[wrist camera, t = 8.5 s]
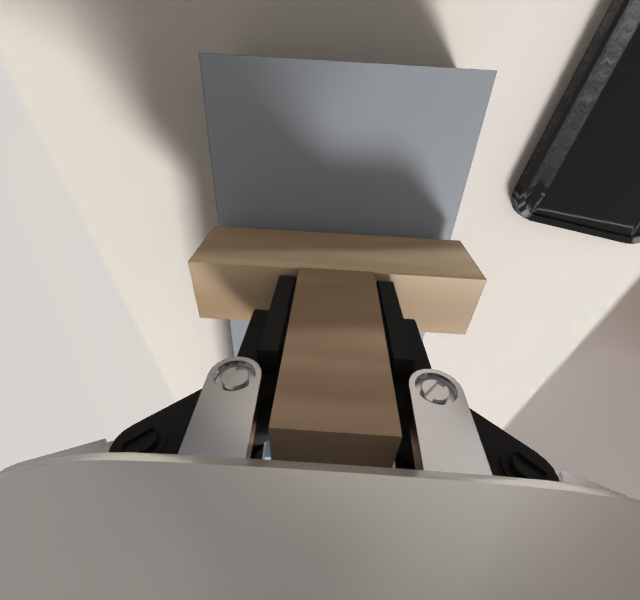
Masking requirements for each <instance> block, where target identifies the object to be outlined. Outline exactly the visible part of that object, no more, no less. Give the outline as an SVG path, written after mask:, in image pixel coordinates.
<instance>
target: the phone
mask: <svg viewBox="0 0 640 600" xmlns="http://www.w3.org/2000/svg"><path fill="white" fill-rule="evenodd" d="M512 206H513V209H514V210H515V211H516V212H517V213H518V214H519V215H521V216H522V217H524V218H526V219H528V220H530V221H534V222H539V223H543V224H547V225H551V226H555V227H560V228H564V229H568V230H572V231H577V232H581V233H585V234H589V235H593V236H598V237H602V238H606V239H610V240H615V241H619V242H623V243H629V244H635V243H640V0H613V1H612V3H611V5H610V7H609V9H608V10H607V12H606V14H605V16H604V18H603V20H602V22H601V24H600V26H599V28H598V30H597V32H596V33H595V35H594V37H593V39H592V41H591V43H590V45H589V47H588V49H587V51H586V53H585V55H584V56H583V58H582V60H581V62H580V64H579V66H578V68H577V70H576V72H575V74H574V76H573V78H572V80H571V81H570V83H569V85H568V87H567V89H566V91H565V93H564V95H563V97H562V99H561V101H560V103H559V104H558V106H557V108H556V110H555V112H554V114H553V116H552V118H551V120H550V122H549V124H548V126H547V127H546V129H545V131H544V133H543V135H542V137H541V139H540V141H539V143H538V145H537V147H536V149H535V150H534V152H533V154H532V156H531V158H530V160H529V162H528V164H527V166H526V168H525V170H524V172H523V173H522V175H521V177H520V179H519V181H518V183H517V185H516V187H515V189H514V191H513V194H512Z"/></svg>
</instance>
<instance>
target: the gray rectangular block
mask: <svg viewBox="0 0 640 600" xmlns="http://www.w3.org/2000/svg"><path fill="white" fill-rule="evenodd" d="M199 59H200V68H201V77H202V85H203V94H204V102H205V111H206V120H207V128H208V137H209V145H210V154H211V163H212V171H213V180H214V188H215V197H216V206H217V214H218V223H219V226H223V227H239V228H256V229H273V230H289V231H306V232H322V233H339V234H356V235H372V236H389V237H406V238H422V239H439V240H450V239H451V235H452V232H453V228H454V225H455V221H456V217H457V214H458V210H459V207H460V203H461V199H462V196H463V192H464V189H465V185H466V181H467V178H468V174H469V170H470V167H471V163H472V160H473V156H474V152H475V149H476V145H477V142H478V138H479V134H480V131H481V127H482V124H483V120H484V116H485V113H486V109H487V106H488V102H489V98H490V95H491V91H492V87H493V84H494V80H495V77H496V73H497V71H496V70H479V69H462V68H446V67H429V66H412V65H395V64H379V63H362V62H345V61H328V60H311V59H295V58H278V57H261V56H244V55H228V54H211V53H199ZM249 322H250V321H247V320H231V319H230V326H231V334H232V343H233V352H234V357H237V355H238V352H239V349H240V346H241V344H242V341H243V338H244V336H245V333H246V330H247V327H248V325H249ZM419 333H420V336H421V339H422V340H423V336H424V333H425V332H421V331H419Z"/></svg>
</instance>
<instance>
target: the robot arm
mask: <svg viewBox="0 0 640 600" xmlns="http://www.w3.org/2000/svg"><path fill="white" fill-rule="evenodd" d="M296 282H297V280H295V276H288V275H280V276H279V278H278V282H277V285H276V288H275V292H274V295H273V298H272V302H271V305H270V308H269V310H261V309H255V310H254V311H253V314H252V317H251V319H250V322H249V325H248V327H247V330H246V333H245V336H244V338H243V341H242V344H241V346H240V349H239V352H238V355H237V357H231V358H227V359H224V360H222V361H220V362H218V363H217V364H216V365H214V366H213V367H212V368H211V370H210V371H209V373H208V375H207V378H206V380H205V383H204V386H203V388H202V389H200V390H198V391H197V392H195V393H193V394H191V395H189V396H187V397H185V398H183V399H181V400H179V401H178V402H176V403H174V404H172V405H170V406H168V407H166V408H165V409H162V410H161V411H159V412H157V413H155V414H153V415H151V416H149V417H147V418H145V419H143V420H141V421H140V422H138V423H136V424H134V425H132V426H131V427H129V428H127V429H126V430H124V431H123V432H122V433H121V434H120V435H119V436H118V437H117V438H116V439H115V441H111V442H108V443H107V441H106V439H102V440H99V441H95V442H92V443H88V444H84V445H81V446H77V447H74V448H70V449H67V450H63V451H60V452H56V453H53V454H49V455H45V456H42V457H38V458H35V459H31V460H28V461H24V462H21V463H17V464H15V465H12V466H10V467H8V468H5V469H4V470H2V471H1V472H0V600H640V501H639V500H637V499H634V498H631V497H628V496H625V495H623V494H621V493H618V492H616V491H613V490H611V489H609V488H606V487H604V486H601V485H599V484H596V483H594V482H592V481H589V480H587V479H585V478H582V477H580V476H577V475H575V474H572V473H570V472H568V471H565V470H562V471H561V472H560V473H558V472H556V471H554V469H553V467H552V466H551V465H550V464H549V463H548V462H547V461H546V460H545V459H544V458H543V457H541V456H540V455H539V454H538V453H537V452H535V451H534V450H532V449H530V448H529V447H527V446H526V445H525V444H523V443H521V442H520V441H518V440H517V439H515V438H514V437H512V436H511V435H509V434H508V433H506V432H505V431H503V430H502V429H500V428H499V427H497V426H496V425H494V424H493V423H491V422H490V421H488V420H487V419H485V418H484V417H482V416H481V415H479V414H478V413H476V412H475V411H473V410H472V409H470V408H469V406H468V403H467V400H466V397H465V394H464V392H463V389H462V388H461V386H460V384H459V383H458V382H457V381H456V380H455V379H454V378H453V377H451V376H450V375H448V374H446V373H444V372H442V371H439V370H434V369H431V366H430V363H429V360H428V357H427V354H426V351H425V348H424V345H423V342H422V339H421V336H420V333H419V330H418V327H417V323H416V321H415V320H414V319H404V318H403V314H402V311H401V307H400V304H399V300H398V297H397V293H396V290H395V286H394V283H393V282H386V281H377V283H376V285H377V291H378V297H379V303H380V309H381V314H382V320H383V326H384V332H385V338H386V344H387V350H388V356H389V361H390V367H391V373H392V379H393V385H394V391H395V397H396V403H397V408H398V414H399V420H400V426H401V432H402V439H401V442H400V445H399V448H398V451H397V454H396V457H395V461H394V464H393V467H392V468H384V467H369V466H355V465H340V464H325V463H310V462H295V461H280V460H264V459H265V452H266V441H268V440H269V422H270V417H271V412H272V407H273V402H274V396H275V391H276V386H277V381H278V376H279V370H280V365H281V360H282V355H283V350H284V344H285V339H286V334H287V329H288V324H289V318H290V313H291V308H292V303H293V298H294V292H295V287H296Z"/></svg>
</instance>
